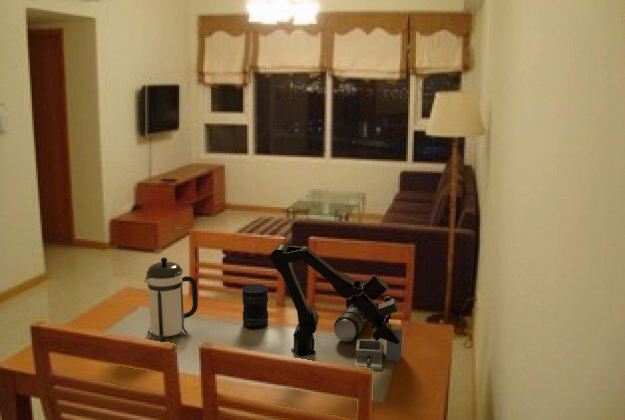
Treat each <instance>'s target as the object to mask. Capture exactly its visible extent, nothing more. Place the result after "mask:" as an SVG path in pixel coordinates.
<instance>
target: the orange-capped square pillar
mask: <svg viewBox="0 0 625 420" xmlns="http://www.w3.org/2000/svg"><path fill="white" fill-rule="evenodd" d="M390 324H391V331H392V332H393V333H394V335H395V336H396V337H397V339H398V340H399V343H398V344H395V343H393V342H390V341H387V340H386V349H385V350H386V351H385V352H386V353H385V356H386V357H385V359H386V360H385V361H390V362H391V361H393V362H394V361H395V362H402V346H403V345H402V343H403V325H402V320H401V319H392V318H391V319H389V325H390Z"/></svg>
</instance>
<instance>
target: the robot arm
mask: <svg viewBox="0 0 625 420" xmlns="http://www.w3.org/2000/svg"><path fill="white" fill-rule="evenodd" d="M269 259H270V262H271V264H272V265H273V267H274V269H275V270H276V271H278V273H279V274H280V275H281V277H282V279H283V281H284V284H285V287H286V288H287V291H288V293H289V296H290V298H291V300H292V303H293V305H294V308H295V310H296V313H297V322H298V323H297V324H296V328H295V329H294V333H293V348H292V347H291V349H290V350H291V351H292V352H293V353H294V354H295V355H297V356H298V357H300V358H301V357H306V356H309V355H313V354H315V353H316V350H315V337H314V334H315V332H317V328H318V325H319V319H320V315H319V314H318V312H317V309H316V306H314V307H311V306H310V305H309V304H308V302H307V299H306V297H305V294H304V292H303V290H302V287H301V285H300V283H299V280H298V278H297V276H296V274H295V270H294V268H293V267H294V266H293V263H295V262H301V261H303V262H304V263H306V264H307V265H308V266H309V267H310V268H311V269H313V270H315V271H316V272H317V274H319V275H320V276H321V277H323V278H324V279H325V280H327V281H328V282H329V283H330V285H331V286H332V287H333V289H334V291H335V292H336V293H337V294H338V295H339V296H340V297H341V298H343V299H345V302H346V303H345V309H346V308H348V307H349V306H351V305H353V306H354V307H355V308H356V309H357V310H358V311H359V312H360V313H361V314H362V315H363V317H362V318H363V319H364V320H365V319H367V321H368V323H370V327H371V328H372V338H373V340H376V341H378V340H383V341H384V340H385V341H386V342H387V341H390V342H393V343H395V344H398V343H399V340H398V339H397V337H396V336H395V335H394V333H393V332H392V331H391V324H390V325H389V319H391V320H392V314H395V313H397V312H398V309H399V307H398V305H397V303H396V299H394V298H393V297H392V298H391V297H390V296H389V295H388V296H385V297H384V301H382V302H381V303H378V302H375V301H374V300H378V299H379V298H380V297H381V296H382V295H384V293H386V292H387V291H388V290H389V286H388V284H387V283H386V281H385V280H384V279H383V278H380V277H379V276H377V275H376V273H375V274H373V275H372V276H371V277H370V278H369V279H368V280H366V281H360V280H355V279H354V278H352V277H350V276H349V275H347V274H345V273H342V272H340V271H338V270H336V269H335V268H334V267H332V266H331V265H330V264H329V263H327V262H326V261H325V260H324V259H323V258H321V257H320V256H319V255H318V254H316V253H315V252H314V251H313V250H312V249H311V248H310V247H308V246H306V245H304V246H297V245H296V246H295V245H290V246H288V245H284V244H278V245H276V246H275V247H274V249H272V251H271V253H270V256H269ZM366 295H367V296H368V297H369V298H370V299H372V300H373V302H374V303H373V302H372V301H371V300H370V299H369V298H368V297H367V296H366Z"/></svg>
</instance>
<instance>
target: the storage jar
mask: <svg viewBox="0 0 625 420" xmlns="http://www.w3.org/2000/svg"><path fill="white" fill-rule="evenodd" d="M241 289H242V295H241V297H242V298H241V299H242V306H243V311H242V322H243V323H242V324H243V328H245V329H247V330H250V331H251V330H252V331H256V330H257V331H258V330H263V329H266V328H267V327H268V326H269V310H268V303H269V294H268V287H267V286H266V285H264V284H259V283H258V284H257V283H256V284H255V283H253V284H252V283H251V284H248V285H245V286H243V287H242V288H241Z"/></svg>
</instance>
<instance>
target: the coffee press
mask: <svg viewBox="0 0 625 420" xmlns="http://www.w3.org/2000/svg"><path fill="white" fill-rule="evenodd" d="M183 273H184V272H183V268H182V267H181V266H180V264H178V263H176V262H173V261H168V258H167V257H162V258H161V260H160V261H159V262H156V263H153V264H151V265H150V266H149V267H148V268H147V271H146V274H145V275H146V276H145V278H144V283H145V284H146V283H147V288H148V302H149V305H148V306H149V319H150V320H149V321H150V322H149V323H150V327H149V329H148V331H147V333H148V334H149V335H152V334H153V335H155V336H158V342H159V341H163V342H164V341H165V338H166V337H172V336H177V335H178V334H180V335H182V336H183V337H186V336H187V335H188V331H187V330H186V328H185V319H188V318H190V317H192V316H194V315H195V313H196V312H197V310H198V305H199V299H198V284H197V281H196V280H195V279H194V278H193V277H192V276H190V275H189V276H188V275H187V276H183V277H182V275H183ZM184 282H189V283H190V284H191V293H192V294H191V295H192V297H191V298H192V307H191V309H190V310H189V311H187V312H184V295H183V294H184V293H183V283H184Z"/></svg>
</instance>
